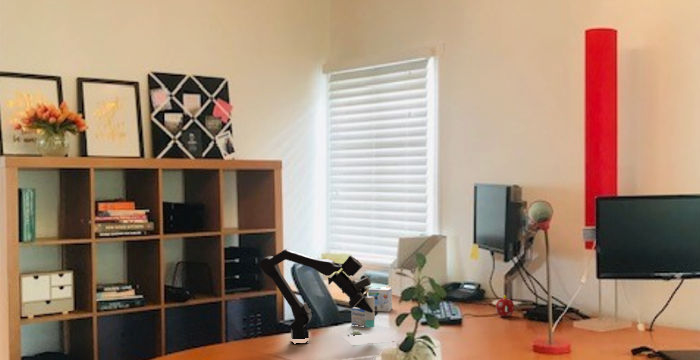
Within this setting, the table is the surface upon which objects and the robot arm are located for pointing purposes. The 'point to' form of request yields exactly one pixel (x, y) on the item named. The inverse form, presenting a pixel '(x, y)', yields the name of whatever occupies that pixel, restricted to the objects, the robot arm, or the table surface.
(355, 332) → the button
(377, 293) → the light bulb box
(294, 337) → the robot arm
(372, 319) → the beige teal tall box
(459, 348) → the table surface
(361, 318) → the medicine box
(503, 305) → the christmas ornament
